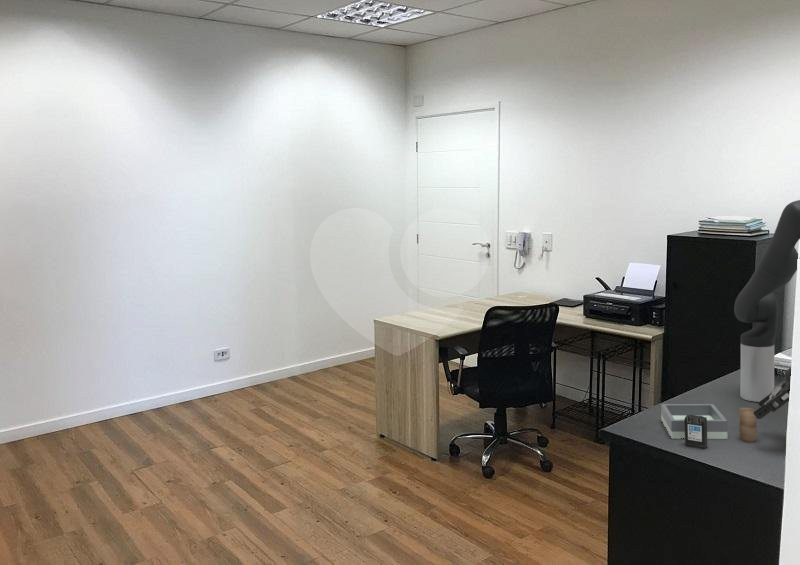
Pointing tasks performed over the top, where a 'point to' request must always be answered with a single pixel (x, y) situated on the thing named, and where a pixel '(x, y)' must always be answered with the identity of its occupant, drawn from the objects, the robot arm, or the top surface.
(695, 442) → the ink cartridge
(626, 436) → the top surface
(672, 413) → the socket box
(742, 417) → the peg
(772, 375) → the robot arm
